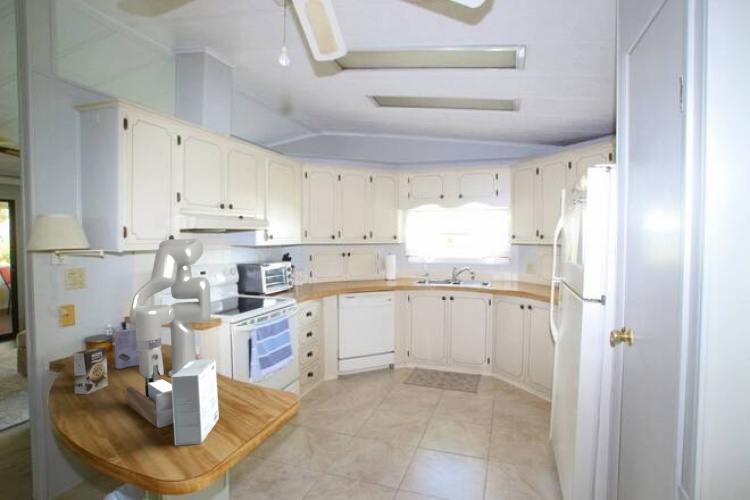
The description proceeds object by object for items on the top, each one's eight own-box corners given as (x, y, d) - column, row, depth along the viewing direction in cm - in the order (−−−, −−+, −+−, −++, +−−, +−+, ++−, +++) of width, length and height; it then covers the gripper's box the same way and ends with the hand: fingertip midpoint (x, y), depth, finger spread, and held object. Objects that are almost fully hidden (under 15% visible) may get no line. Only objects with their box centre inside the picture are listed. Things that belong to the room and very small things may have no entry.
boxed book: (163, 407, 134) (161, 379, 134) (179, 418, 125) (178, 388, 125) (149, 412, 131) (147, 382, 131) (164, 423, 122) (163, 392, 121)
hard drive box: (194, 421, 123) (192, 359, 122) (219, 419, 123) (216, 358, 123) (173, 446, 107) (170, 376, 107) (201, 444, 108) (198, 374, 108)
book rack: (155, 396, 145) (154, 369, 145) (189, 417, 125) (187, 387, 125) (127, 404, 138) (126, 376, 138) (158, 428, 118) (156, 396, 118)
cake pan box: (159, 358, 196) (157, 324, 195) (162, 360, 192) (160, 325, 192) (114, 367, 182) (113, 330, 182) (117, 370, 178) (115, 332, 178)
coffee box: (87, 394, 149) (86, 353, 148) (74, 393, 150) (72, 352, 150) (108, 385, 158) (106, 347, 157) (95, 385, 159) (94, 346, 159)
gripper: (169, 344, 132) (171, 397, 133) (153, 338, 142) (155, 387, 143) (145, 349, 127) (147, 404, 127) (130, 343, 137) (132, 394, 137)
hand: (151, 395), depth 135 cm, fingers closed
